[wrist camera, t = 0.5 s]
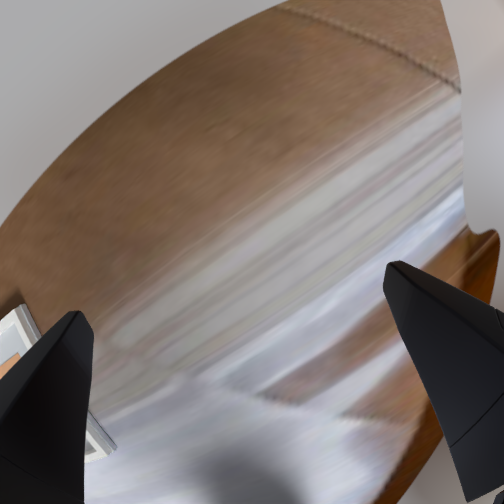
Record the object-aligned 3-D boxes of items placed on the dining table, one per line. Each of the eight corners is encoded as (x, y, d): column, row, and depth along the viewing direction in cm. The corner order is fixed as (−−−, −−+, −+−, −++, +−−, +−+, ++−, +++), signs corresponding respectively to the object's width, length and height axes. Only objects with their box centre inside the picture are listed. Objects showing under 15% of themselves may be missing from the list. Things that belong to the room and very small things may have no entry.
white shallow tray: (117, 447, 22) (111, 457, 20) (34, 472, 21) (28, 479, 20) (25, 303, 22) (14, 305, 20) (-37, 360, 21) (-46, 363, 19)
